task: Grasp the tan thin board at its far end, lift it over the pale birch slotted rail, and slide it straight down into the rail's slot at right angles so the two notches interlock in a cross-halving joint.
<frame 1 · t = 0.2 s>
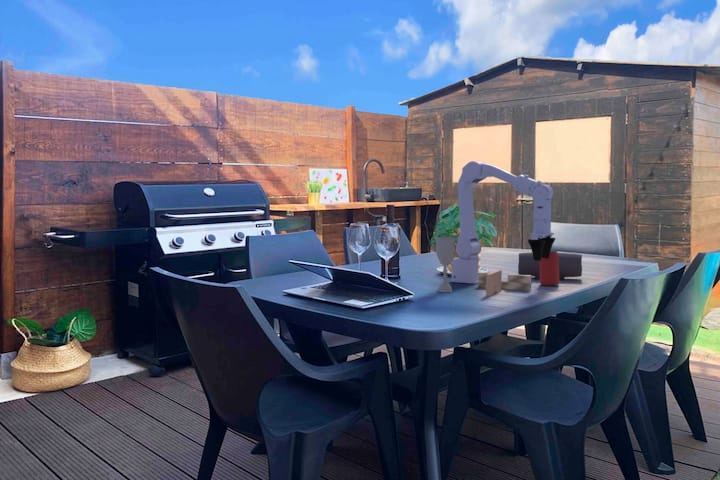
hand: (541, 259, 210), 10 cm above the table, fingers open, 7 cm apart
tan thin board: (493, 293, 202), on the table
slotted rail: (504, 288, 211), on the table
bluetooth speaker: (549, 279, 233), on the table
beer can: (549, 285, 217), on the table
chalice: (445, 291, 207), on the table
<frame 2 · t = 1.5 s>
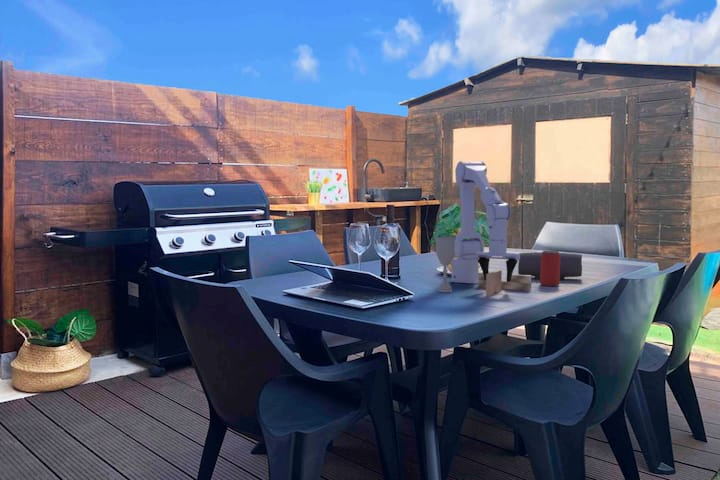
hand: (497, 280, 204), 4 cm above the table, fingers open, 7 cm apart
nothing on the table moved.
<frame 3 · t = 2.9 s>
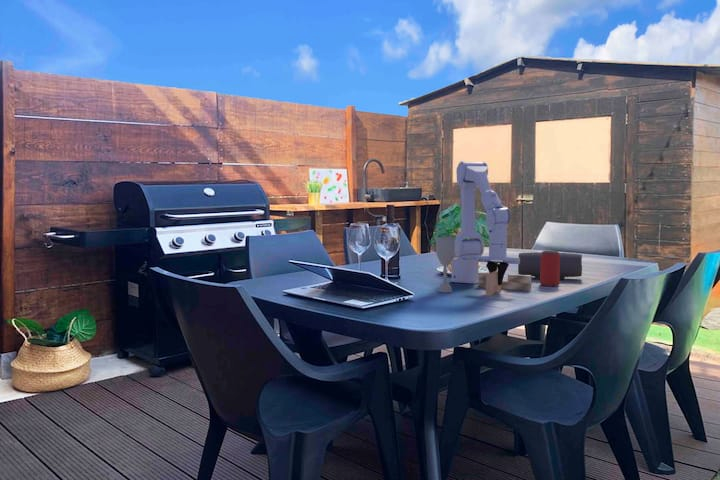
hand: (497, 284, 204), 2 cm above the table, fingers closed on tan thin board, 1 cm apart
tan thin board: (493, 293, 202), on the table, touching gripper
everything else where it was.
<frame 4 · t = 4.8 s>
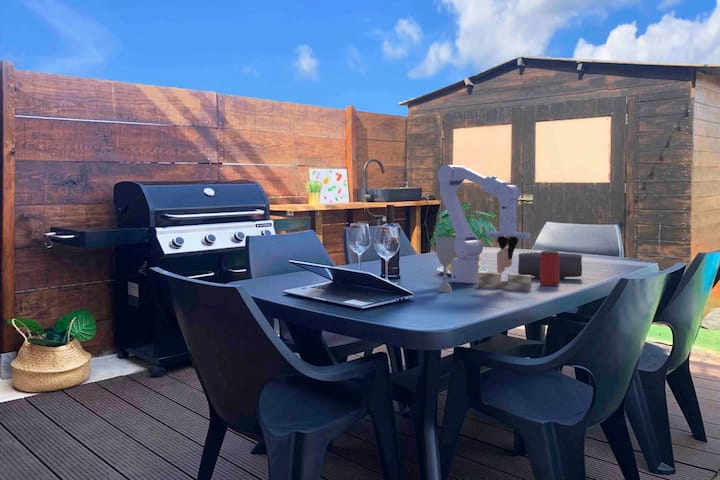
hand: (507, 258, 213), 10 cm above the table, fingers closed on tan thin board
tan thin board: (504, 268, 211), point 7 cm above the table, tilted 7°, touching gripper
everything else where it was.
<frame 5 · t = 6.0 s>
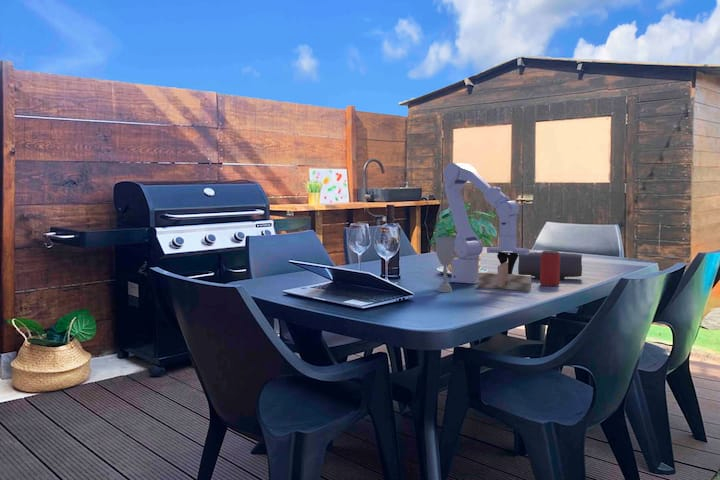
hand: (507, 274, 214), 4 cm above the table, fingers closed on tan thin board, 1 cm apart
tan thin board: (505, 283, 211), point 2 cm above the table, touching gripper
everything else where it was.
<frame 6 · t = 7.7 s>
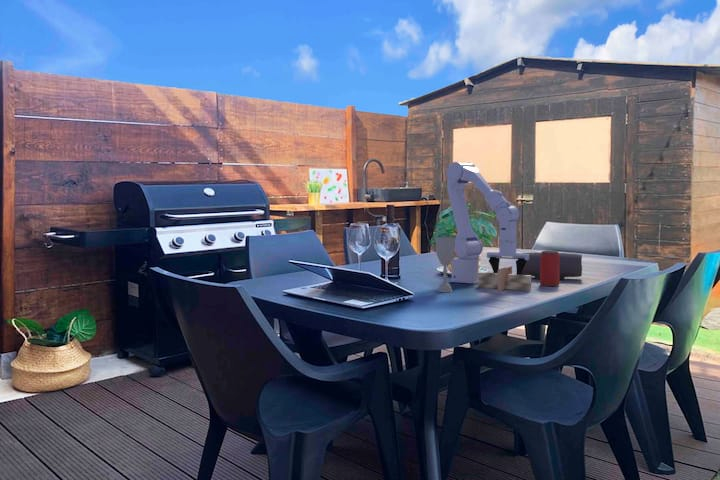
hand: (507, 279, 214), 3 cm above the table, fingers open, 7 cm apart
tan thin board: (504, 288, 211), on the table, touching slotted rail
everything else where it was.
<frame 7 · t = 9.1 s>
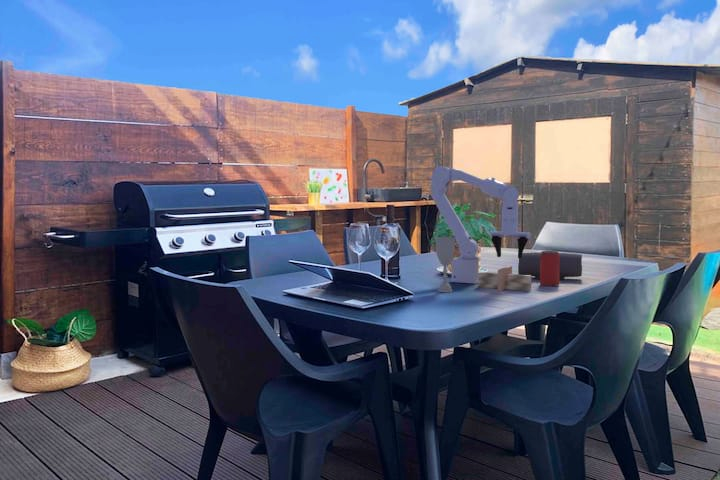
hand: (509, 257, 221), 9 cm above the table, fingers open, 7 cm apart
nothing on the table moved.
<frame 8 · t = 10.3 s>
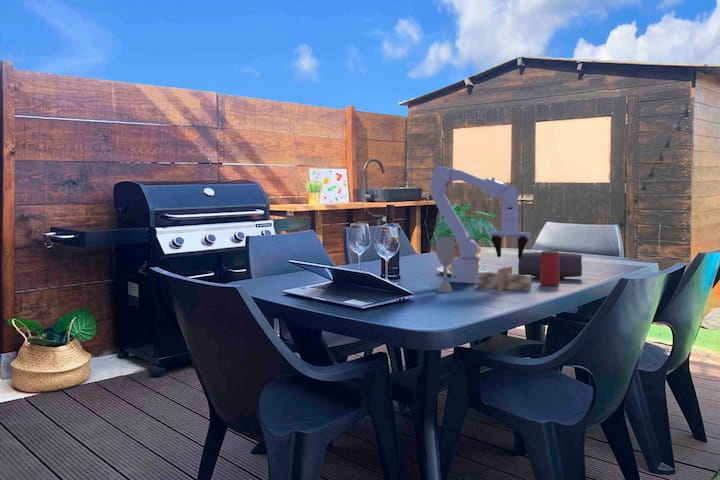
hand: (509, 257, 221), 9 cm above the table, fingers open, 7 cm apart
nothing on the table moved.
at the end: tan thin board 0.7 cm off-centre on the slotted rail, point 0.0 cm above the slotted rail's base; tan thin board tilted 0°; the gripper is holding nothing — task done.
